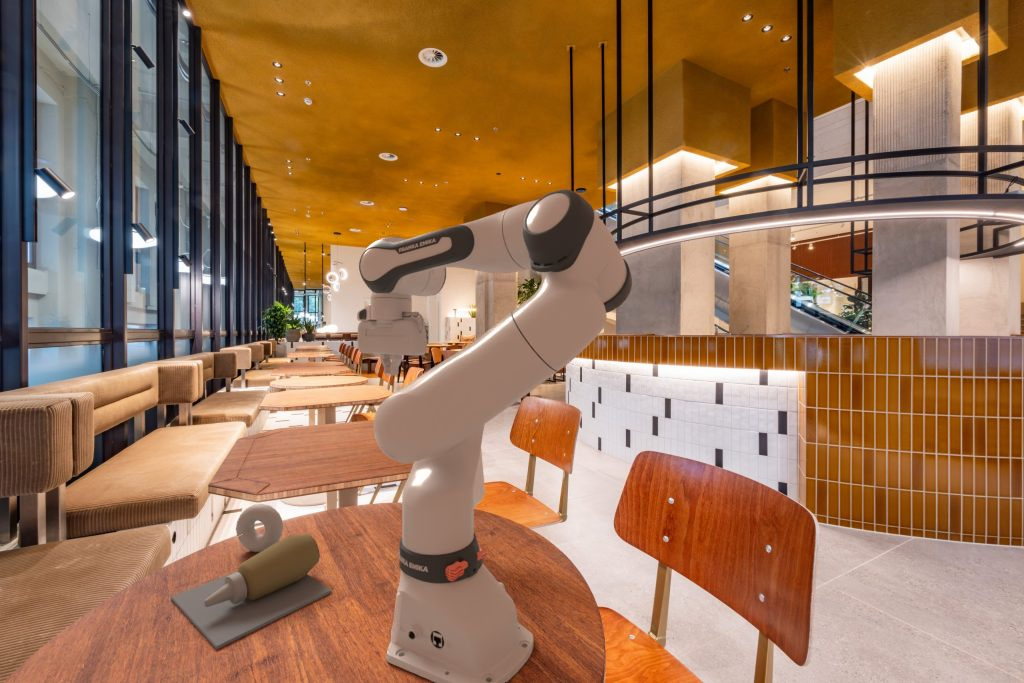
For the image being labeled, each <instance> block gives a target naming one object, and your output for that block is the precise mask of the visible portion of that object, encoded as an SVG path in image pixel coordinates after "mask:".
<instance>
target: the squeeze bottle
mask: <svg viewBox="0 0 1024 683" xmlns="http://www.w3.org/2000/svg"><path fill="white" fill-rule="evenodd" d="M320 555H321V554H320V548H319V545H318V543H317V540H316V539H315V538H314V537H313V536H312V535H311V534H309V533H305V534H297V535H292V536H291V535H290V536H286V537H285V536H284V538H282V539H280V540H279V542H277V543H275V544H274V545H272V546H270V547H268V548H267V549H265V550H263V551H262V552H257V553H256V554H255V555H253V556H251V557H250V558H248V559H246V560H245V561H243V562H242V563H240V564H239V566H238V568H237V571H235V573H234V572H232V573H233V574H231V573H230V574H231V575H229V574H228V575H229V576H227V577H226V579H225V583H224V584H225V585H224V586H223V587H221V588H220V589H219V590H217V591H216V592H215V593H213V594H212V595H211V596H209V597H208V598H206V599H205V600H204V604H205V606H206V607H209V606H212V605H215V604H218V603H221V602H225V601H228V600H230V602H231V603H233V604H237V603H239V602H241V601H243V600H244V599H246V598H247V599H248V600H251V601H253V600H256V599H259V598H261V597H263V596H265V595H267V594H270V593H272V592H274V591H276V590H279V589H281V588H283V587H285V586H287V585H290V584H292V583H294V582H296V581H299V580H301V579H302V578H303V577H304V576H305V575H306V574H309V572H310V571H311V570H312V569H313V568H314V567H315V566H317V564H318V563H319V561H320V558H321V557H320Z"/></svg>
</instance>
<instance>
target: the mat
mask: <svg viewBox="0 0 1024 683" xmlns="http://www.w3.org/2000/svg"><path fill="white" fill-rule="evenodd" d="M235 572H236V571H235ZM235 572H232V573H229V574H226V575H225V576H224V575H223V576H221V577H218V578H216V579H213V580H211V581H208V582H206V583H203V584H200V585H197V586H196V587H193V588H190V589H187V590H185V591H181V592H180V593H177V594H175V595H171V596H170V600H171V601H172V603H173V604H174V605H175V606H176V607H177V608H178V609H179V610H180V612H182V613H183V614H184V615H185V617H186V618H187V619H188V620H189V621H190V622H191V623H192V624H193V625H194V627H195V628H196V629H197V630H198V631H199V632H200V634H202V636H203V637H204V638H205V639H206V640H207V641H208V642H209V643H210V644H211V646H212V647H213V649H215V650H219V649H220V648H223V647H225V646H227V645H229V644H231V643H233V642H235V641H237V640H239V639H240V638H243V637H246V636H247V635H249V634H251V633H253V632H256V631H258V630H259V629H261V628H263V627H265V626H267V625H270V624H271V623H273V622H276V621H277V620H280V619H282V618H283V617H285V616H288V615H290V614H291V613H293V612H296V611H297V610H299V609H302V608H304V607H305V606H307V605H310V604H312V603H314V602H315V601H318V600H320V599H322V598H325V597H326V596H327V595H330V594H331V593H333V592H332V589H331V588H330V587H328V586H326V585H325V584H323V583H321V582H319V581H318V580H317V579H315V578H314V577H312V576H311V575H309V573H307V574H306V575H305V576H304V577H303V578H302V579H301V580H299V581H296V582H294V583H292V584H290V585H287V586H285V587H283V588H281V589H279V590H276V591H274V592H272V593H270V594H267V595H265V596H263V597H261V598H259V599H256V600H253V601H251V600H248V599H247V598H246V599H244V600H243V601H241V602H239V603H237V604H233V603H231V602H230V600H228V601H225V602H221V603H218V604H215V605H212V606H209V607H206V606H205V604H204V600H205V599H206V598H208V597H209V596H211V595H212V594H213V593H215V592H216V591H217V590H219V589H220V588H221V587H223V586H224V585H225V584H224V583H225V579H226V577H227V576H229V575H231V574H233V573H235Z"/></svg>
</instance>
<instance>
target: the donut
mask: <svg viewBox="0 0 1024 683" xmlns="http://www.w3.org/2000/svg"><path fill="white" fill-rule="evenodd" d="M256 522H260V523H262V525H263V527H264V533H263V534H259V533H258V532H257V531H256V527H255V523H256ZM235 530H236V532H235V533H236V537H237V536H239V535H241V534H243V535H241V536H239V537H237V539H238V541H239V543H240V544H241V545H242V546H243V548H244V549H246V550H248V551H250V552H253V553H260V552H262V551H263V550H265V549H267V548H268V547H270V546H272V545H274V544H275V543H277V542H279V541H280V540H281V537H282V535H283V531H284V523H283V519H282V517H281V514H280V513H279V511H277V510H276V508H274V507H272V506H270V505H269V504H265V503H258V504H257V503H256V504H251V505H250V506H249V507H246V509H244V510H243V511H242V513H241V514H240V515H239V517H238V519H237V521H236V527H235Z"/></svg>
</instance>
